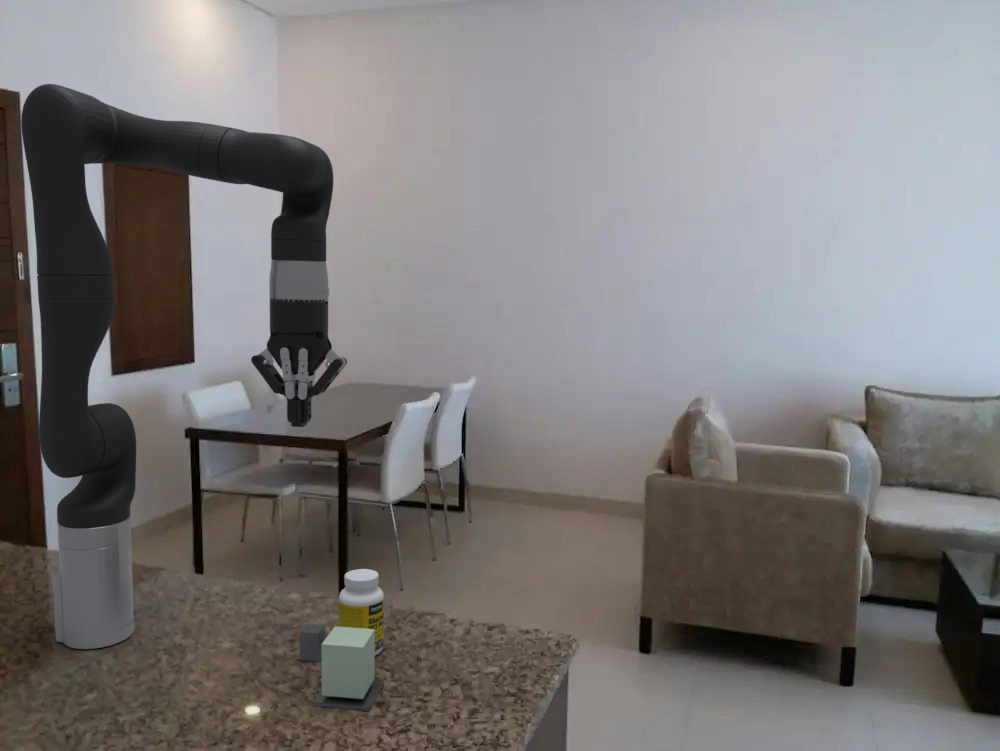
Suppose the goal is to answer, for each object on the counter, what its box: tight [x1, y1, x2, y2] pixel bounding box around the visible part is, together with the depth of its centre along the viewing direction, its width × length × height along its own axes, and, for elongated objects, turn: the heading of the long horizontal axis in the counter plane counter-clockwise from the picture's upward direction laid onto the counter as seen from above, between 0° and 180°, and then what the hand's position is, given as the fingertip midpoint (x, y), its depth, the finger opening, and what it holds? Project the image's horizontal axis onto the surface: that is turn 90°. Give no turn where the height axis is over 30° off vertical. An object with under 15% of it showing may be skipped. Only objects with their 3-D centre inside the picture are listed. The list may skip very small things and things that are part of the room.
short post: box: [299, 623, 326, 663], centre depth 114 cm, size 3×3×4 cm
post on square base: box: [312, 678, 385, 712], centre depth 104 cm, size 7×7×7 cm
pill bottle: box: [338, 568, 385, 656], centre depth 116 cm, size 6×6×11 cm
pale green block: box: [321, 625, 376, 699], centre depth 104 cm, size 5×5×7 cm
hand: (299, 425), depth 111 cm, fingers closed
